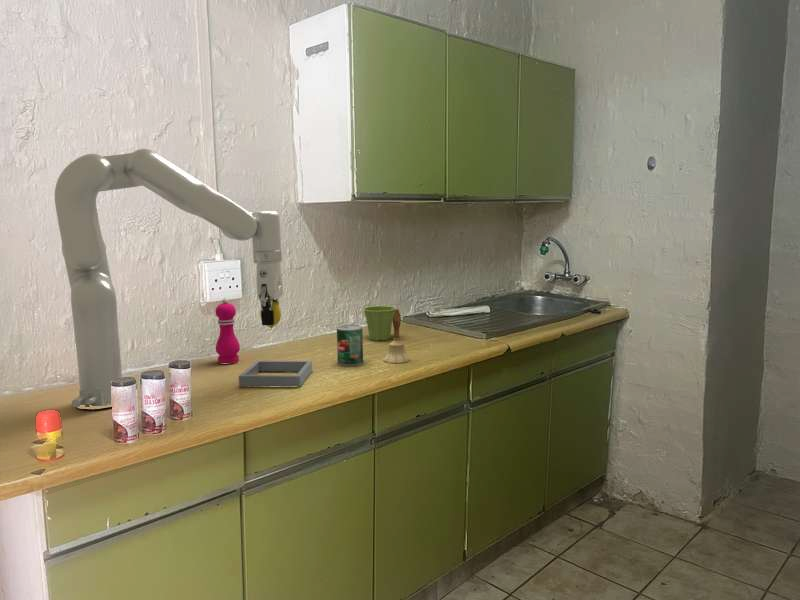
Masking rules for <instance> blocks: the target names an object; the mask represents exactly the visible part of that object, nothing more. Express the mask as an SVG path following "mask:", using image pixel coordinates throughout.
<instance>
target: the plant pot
mask: <svg viewBox="0 0 800 600" xmlns="http://www.w3.org/2000/svg"><path fill="white" fill-rule="evenodd" d="M395 309H397V308H396V307H395V306H391V305H372V306H365V307H363V308H362V311H363V313H364V317H365V320H366V325H367V331H368V337H369V339H370V340H371V341H375V342H378V341H384V340H385V341H388V340H390V338H391V333H392V327H393V321H392V319H393V314H394V310H395Z"/></svg>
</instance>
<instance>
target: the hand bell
mask: <svg viewBox="0 0 800 600" xmlns="http://www.w3.org/2000/svg"><path fill="white" fill-rule="evenodd" d="M401 318H402V316H401V313H400V310H399V309H398V308H396V309H395V310H394V314H393V319H392V327H393V341H391V342H390V343H389V345H388V350H387V354H386V355H385V356H384V358H383V362H384V363H387V364H403V363H408V362H410V361H411V358H410V357H409V356H408V355H407V353H406V350H405V349H406V348H405V345H404V342H402V341H400V327H401V324H402V319H401Z"/></svg>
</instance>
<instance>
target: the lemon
mask: <svg viewBox="0 0 800 600" xmlns="http://www.w3.org/2000/svg"><path fill="white" fill-rule="evenodd" d="M268 303H269V302H268ZM272 310H273V312H274V325H266V326H267V327H269V329H273V328H274V327H275V326H276V325H278V324H279V323H280V320H281V318H282V311H281V308H280V304H279V305H278V304H277V303H276V302H274V301H272ZM259 316H260V320H261V321H262V316H261V310H260V315H259Z"/></svg>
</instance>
